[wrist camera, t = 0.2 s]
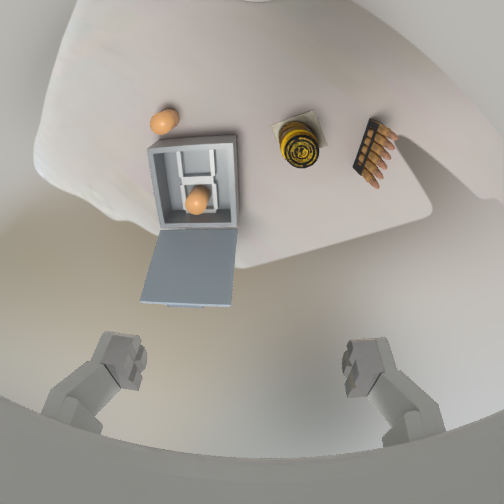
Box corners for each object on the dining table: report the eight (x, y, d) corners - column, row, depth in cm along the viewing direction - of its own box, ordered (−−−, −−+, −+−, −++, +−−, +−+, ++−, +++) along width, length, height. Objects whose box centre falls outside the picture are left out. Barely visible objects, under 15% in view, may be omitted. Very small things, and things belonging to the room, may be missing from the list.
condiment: (270, 125, 50) (272, 139, 40) (313, 109, 48) (326, 120, 38) (285, 160, 54) (290, 182, 44) (326, 145, 51) (342, 164, 42)
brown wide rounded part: (158, 110, 48) (148, 114, 44) (178, 107, 48) (170, 111, 44) (160, 129, 51) (151, 135, 46) (180, 127, 50) (172, 133, 46)
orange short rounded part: (189, 185, 56) (183, 195, 52) (209, 184, 56) (205, 194, 52) (191, 203, 58) (186, 214, 54) (211, 202, 58) (207, 214, 54)
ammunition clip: (369, 117, 48) (394, 131, 38) (378, 121, 48) (404, 135, 38) (352, 167, 54) (371, 191, 44) (360, 170, 54) (381, 195, 44)
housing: (158, 140, 52) (147, 148, 46) (236, 134, 51) (232, 143, 46) (169, 212, 61) (160, 228, 55) (239, 211, 60) (237, 227, 55)
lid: (139, 300, 45) (142, 305, 46) (230, 304, 45) (231, 309, 46) (160, 230, 55) (162, 235, 57) (237, 229, 55) (237, 234, 56)
